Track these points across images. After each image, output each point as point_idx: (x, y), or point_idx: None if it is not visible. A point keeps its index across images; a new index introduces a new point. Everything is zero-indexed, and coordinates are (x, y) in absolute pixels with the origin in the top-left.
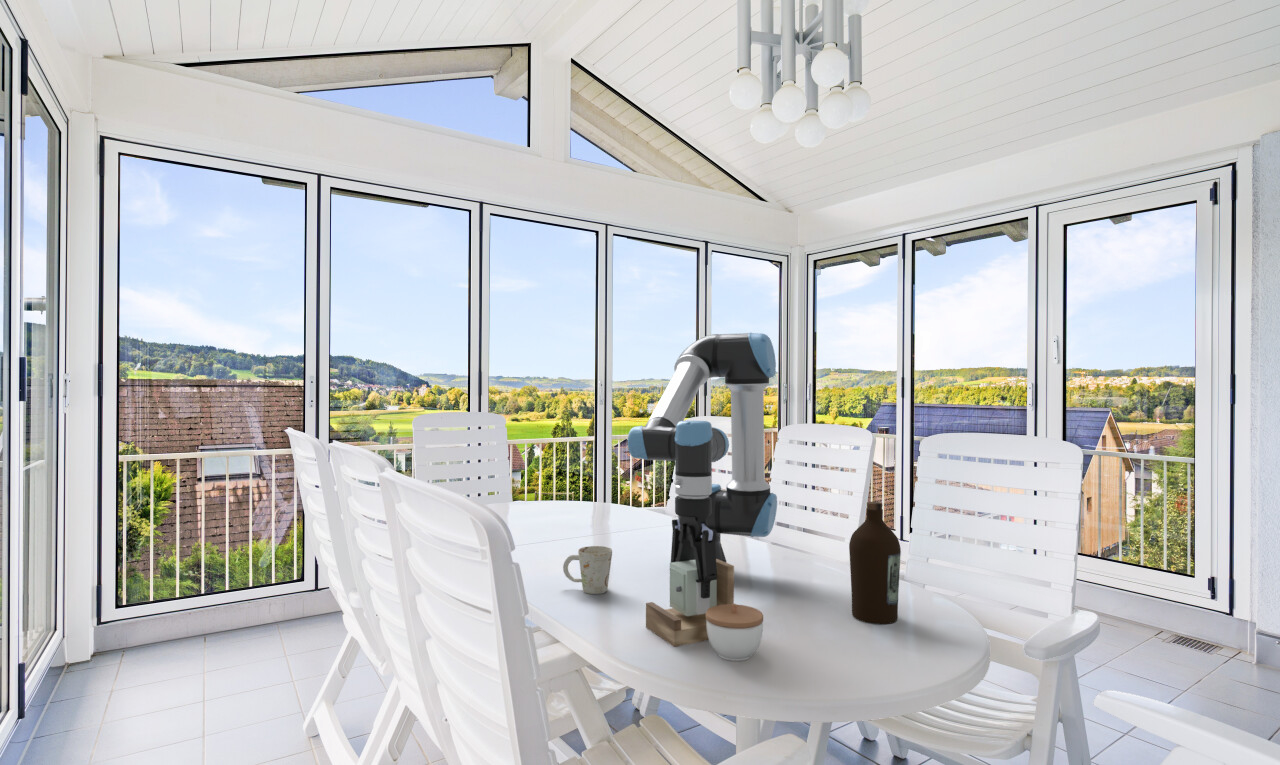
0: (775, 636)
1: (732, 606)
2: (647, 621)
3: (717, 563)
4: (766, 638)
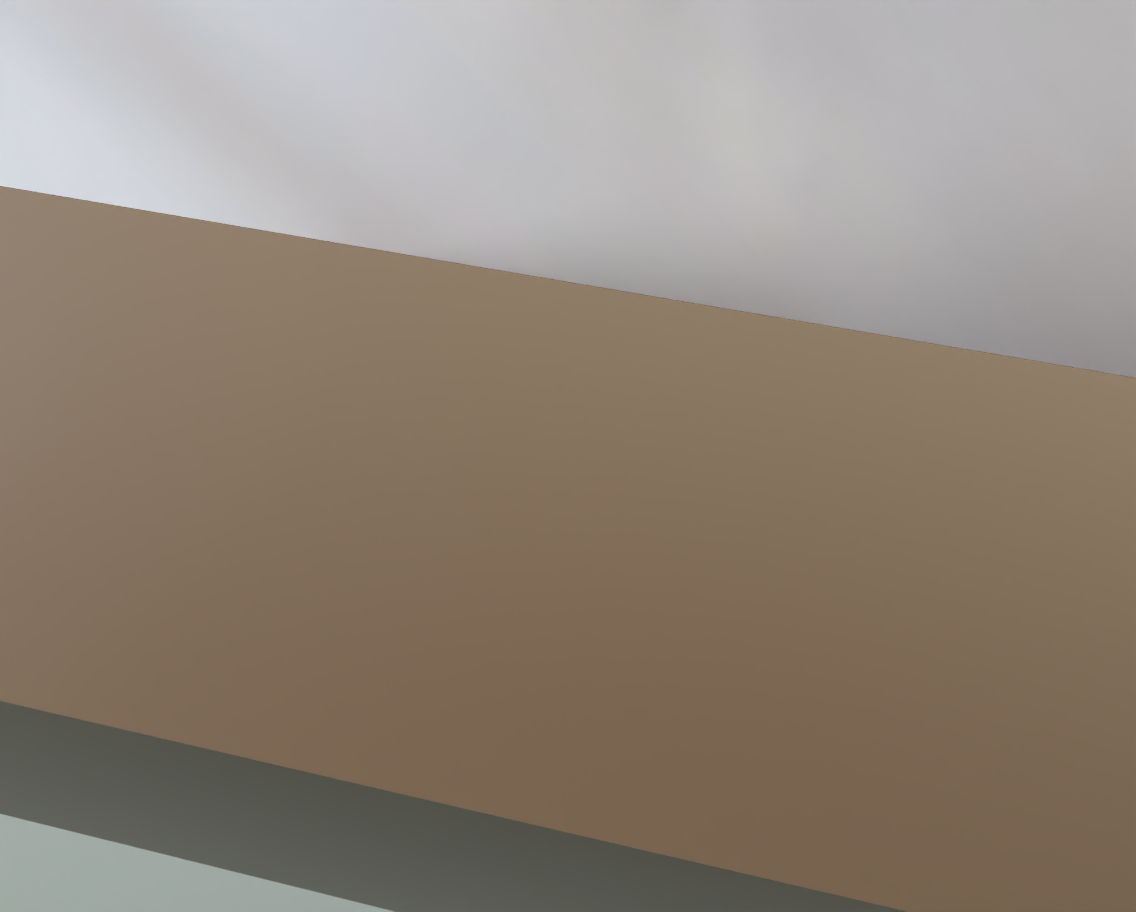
0: (1119, 21)
1: None
2: None
3: (711, 804)
4: (1085, 144)
